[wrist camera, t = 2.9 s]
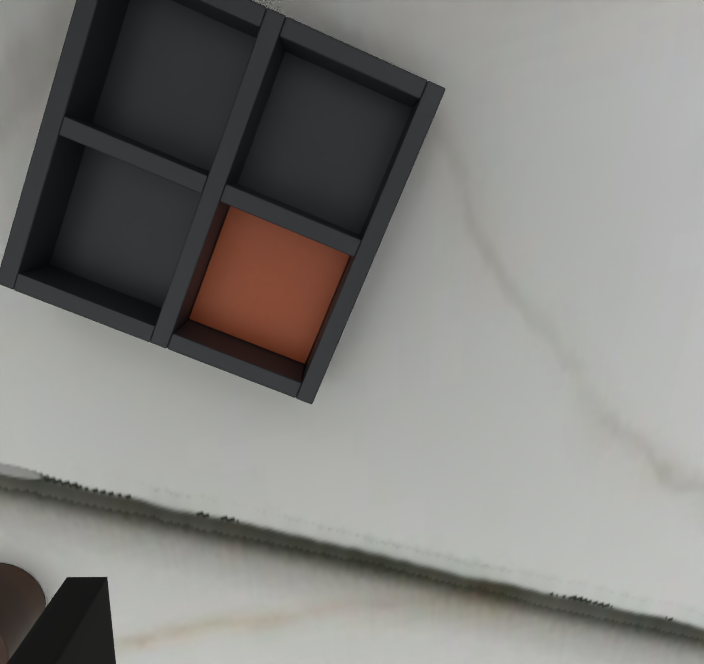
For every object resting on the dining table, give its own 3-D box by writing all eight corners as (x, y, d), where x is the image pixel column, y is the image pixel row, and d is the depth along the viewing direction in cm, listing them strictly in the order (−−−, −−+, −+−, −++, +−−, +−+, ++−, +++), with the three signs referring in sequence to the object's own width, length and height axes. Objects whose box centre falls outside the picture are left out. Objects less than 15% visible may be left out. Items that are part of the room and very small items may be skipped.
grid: (34, 271, 30) (-5, 283, 27) (126, -39, 27) (95, -71, 24) (315, 381, 32) (311, 404, 28) (433, 99, 28) (446, 88, 25)
